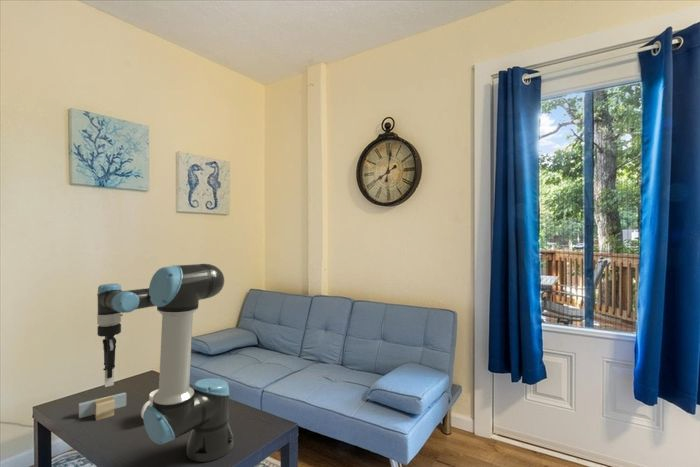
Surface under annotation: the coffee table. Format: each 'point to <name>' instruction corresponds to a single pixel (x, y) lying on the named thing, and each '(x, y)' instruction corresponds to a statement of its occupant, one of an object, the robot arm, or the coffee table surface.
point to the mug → (148, 402)
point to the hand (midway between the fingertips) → (109, 385)
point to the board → (89, 406)
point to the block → (104, 407)
